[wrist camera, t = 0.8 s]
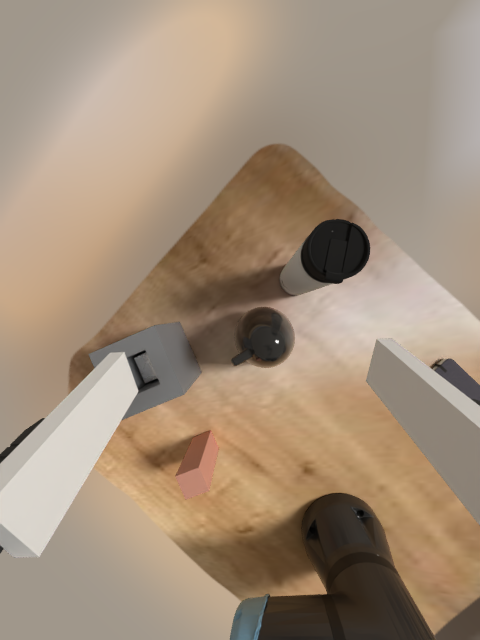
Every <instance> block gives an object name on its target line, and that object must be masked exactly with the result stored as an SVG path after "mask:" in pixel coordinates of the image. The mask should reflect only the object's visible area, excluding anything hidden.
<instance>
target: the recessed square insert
mask: <svg viewBox="0 0 480 640" xmlns="http://www.w3.org/2000/svg"><path fill="white" fill-rule="evenodd" d="M134 359H135V361H136V364H137V366H138V368H139V371H140V373H141V375H142V377H143V380H144V382H145V383H147V382H150V381H152V380H154V379H157V375H156V373H155V371H154V368H153V366H152V364H151V362H150V359H149V357H148V355H147V353H144V354H142V355H140V356H137V357H135V358H134Z"/></svg>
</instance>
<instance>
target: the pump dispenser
mask: <svg viewBox="0 0 480 640" xmlns="http://www.w3.org/2000/svg"><path fill="white" fill-rule="evenodd" d="M234 338H235V344H236V347H237V350H238V352H239V354H238V355H237V356H235V357H234V358H232V360H231V362H232V364H233V365H234V366H237V365H239V364H241V363H243V362H245V361H247V362H248V363H250V364H252V365H254V366H257V367H261V368H271V367H275V366H278V365H280V364H281V363H283V362H284V361H285V360H286V359H287V358H288V357H289V356H290V354H291V352H292V350H293V347H294V343H295V334H294V329H293V327H292V324H291V323H290V321H289V320H288V318H287V317H286V316H285V315H284V314H283V313H281V312H280V311H278V310H276V309H274V308H270V307H257V308H254V309H251V310H249V311H248V312H246V313H245V314H244V315H243V316H242V317H241V318H240V320H239V321H238V323H237V325H236V328H235V334H234Z"/></svg>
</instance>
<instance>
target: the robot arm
mask: <svg viewBox="0 0 480 640" xmlns="http://www.w3.org/2000/svg"><path fill="white" fill-rule="evenodd" d="M366 382H367V383H368V384H369V385H370V387H371V388H372V389H373V391H374V392H375V393H376V394H377V396H378V397H379V398H380V399H381V401H382V402H383V403H384V404H385V406H386V407H387V408H388V410H389V411H390V412H391V413H392V415H393V416H394V417H395V418H396V420H397V421H398V422H399V424H400V425H401V426H402V427H403V429H404V430H405V431H406V432H407V434H408V435H409V436H410V437H411V439H412V440H413V441H414V443H415V444H416V445H417V446H418V448H419V449H420V450H421V451H422V453H423V454H424V455H425V457H426V458H427V459H428V460H429V462H430V463H431V464H432V465H433V467H434V468H435V469H436V470H437V472H438V473H439V474H440V476H441V477H442V478H443V479H444V481H445V482H446V483H447V484H448V486H449V487H450V488H451V490H452V491H453V492H454V493H455V495H456V496H457V497H458V498H459V500H460V501H461V502H462V503H463V505H464V506H465V507H466V509H467V510H468V511H469V512H470V514H471V515H472V516H473V517H474V519H475V520H476V521H477V523H478V524H479V525H480V401H478V400H476V399H470V398H469V397H467V396H466V395H465V394H464V393H462V392H461V391H460V390H458V389H457V388H456V387H454V386H453V385H452V384H451V383H449V382H448V381H447V380H445V379H444V378H443V377H441V376H440V375H439V374H438V373H436V372H435V371H434V370H432V369H431V368H430V367H428V366H427V365H426V364H425V363H423V362H422V361H421V360H419V359H418V358H417V357H416V356H414V355H413V354H412V353H410V352H409V351H408V350H406V349H405V348H404V347H403V346H401V345H400V344H399V343H397V342H396V341H395V340H393V339H392V338H388V339H377V340H376V344H375V348H374V351H373V355H372V359H371V363H370V367H369V371H368V375H367V379H366ZM137 393H138V389H137V386H136V383H135V380H134V377H133V375H132V372H131V369H130V366H129V363H128V361H127V358H126V355H125V352H115V353H109V354H108V355H107V356H106V357H105V358H104V359H103V360H102V362H101V363H100V364H99V365H98V366H97V367H96V368H95V369H94V370H93V371H92V372H91V373H90V374H89V375H88V376H87V377H86V378H85V379H84V380H83V381H82V382H81V383H80V384H79V385H78V386H77V387H76V388H75V389H74V390H73V391H72V392H71V393H70V394H69V395H68V396H67V397H66V398H65V399H64V400H63V401H62V402H61V403H60V404H59V405H58V406H57V407H56V408H55V409H54V410H53V411H52V412H51V413H50V414H49V415H48V416H47V417H46V418H42V419H41V420H39V421H38V422H36V423H35V424H33V425H32V426H30V427H29V428H28V429H26V430H25V431H24V432H23V433H22V434H21V435H20V436H19V437H18V438H17V439H16V440H15V441H14V442H13V443H12V444H11V446H10V447H7V448H6V449H5V450H4V451H3V452H2V453H1V454H0V553H1V552H2V550H3V549H4V550H5V551H7V552H8V553H9V554H10V555H12V556H13V557H14V558H16V557H17V558H19V557H39V556H40V555H41V553H42V552H43V550H44V548H45V546H46V545H47V543H48V542H49V540H50V538H51V537H52V535H53V533H54V532H55V530H56V528H57V527H58V525H59V523H60V522H61V520H62V518H63V517H64V515H65V513H66V512H67V510H68V508H69V507H70V505H71V503H72V502H73V500H74V498H75V497H76V495H77V493H78V491H79V490H80V488H81V487H82V485H83V483H84V482H85V480H86V478H87V477H88V475H89V473H90V471H91V470H92V468H93V467H94V465H95V463H96V462H97V460H98V458H99V456H100V455H101V453H102V451H103V450H104V448H105V446H106V445H107V443H108V441H109V440H110V438H111V436H112V435H113V433H114V431H115V430H116V428H117V426H118V425H119V423H120V421H121V420H122V418H123V416H124V415H125V413H126V411H127V410H128V408H129V406H130V405H131V403H132V401H133V400H134V398H135V396H136V395H137ZM302 536H303V541H304V545H305V549H306V552H307V555H308V557H309V559H310V561H311V563H312V564H313V566H314V568H315V570H316V572H317V574H318V576H319V578H320V579H321V581H322V583H323V585H324V587H325V589H326V591H327V594H325V595H320V594H318V595H297V596H275V597H270V595H269V594H266V595H265V596H264V597H256V598H248V599H245V600H243V601H242V602H241V603H240V605H239V606H238V608H237V610H236V613H235V616H234V620H233V625H232V630H231V635H230V640H436V639H435V637H434V635H433V633H432V632H431V630H430V628H429V626H428V625H427V623H426V621H425V619H424V618H423V616H422V614H421V612H420V611H419V609H418V607H417V605H416V604H415V602H414V600H413V598H412V597H411V595H410V593H409V591H408V590H407V588H406V586H405V584H404V583H403V581H402V579H401V578H400V576H399V574H398V572H397V570H396V568H395V566H394V562H393V559H392V556H391V552H390V549H389V545H388V542H387V539H386V535H385V532H384V529H383V527H382V525H381V523H380V521H379V520H378V518H377V516H376V515H375V513H374V512H373V510H372V509H371V508H370V507H369V506H368V505H367V504H366V503H365V502H364V501H362V500H361V499H359V498H357V497H355V496H352V495H348V494H330V495H327V496H324V497H322V498H320V499H318V500H317V501H315V502H314V503H313V504H312V505H311V506H310V507H309V508H308V510H307V511H306V513H305V515H304V518H303V521H302Z"/></svg>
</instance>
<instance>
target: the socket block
mask: <svg viewBox="0 0 480 640" xmlns="http://www.w3.org/2000/svg"><path fill="white" fill-rule="evenodd" d="M115 352H125V355H126V358H127V361H128V363H129V366H130V369H131V372H132V375H133V377H134V380H135V383H136V386H137V389H138V393H137V395H136V396H135V398H134V400H133V401H132V403H131V405H130V406H129V408H128V410H127V411H126V413H125V415H124V416H123V418H122V420H123V419H125V418H128V417H130V416H133V415H135V414H138V413H140V412H143V411H145V410H147V409H150V408H152V407H155V406H157V405H160V404H162V403H164V402H167V401H169V400H172V399H174V398H177V397H179V396H181V395H184V394H185V393H186V392H187V390H188V389H189V388H190V387H191V385H192V384H193V383H194V382H195V380H196V379H197V378H198V377H199V375H200V374H201V373H202V372H201V369H200V367H199V365H198V362H197V360H196V358H195V356H194V353H193V351H192V349H191V346H190V344H189V342H188V339H187V337H186V335H185V333H184V330H183V328H182V326H181V323H180V322H175V323H168V324H161V325H154V326H152V327H150V328H147V329H145V330H143V331H140V332H138V333H136V334H134V335H131V336H129V337H127V338H124V339H122V340H120V341H118V342H115V343H113V344H111V345H108V346H106V347H104V348H102V349H99V350H97V351H95V352H92V353H90V354H88V355H89V357H90V359H91V361H92V364H93V366H94V368H96V367H97V366H98V365H99V364H100V363H101V362H102V360H103V359H104V358H105V357H106V356H107V355H108V354H109V353H115ZM144 353H147V355H148V357H149V359H150V362H151V364H152V366H153V368H154V371H155V373H156V375H157V379H154V380H152V381H150V382H147V383H145V382H144V380H143V377H142V375H141V373H140V371H139V368H138V366H137V364H136V361H135V359H134V358H135V357H137V356H140V355H142V354H144Z"/></svg>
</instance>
